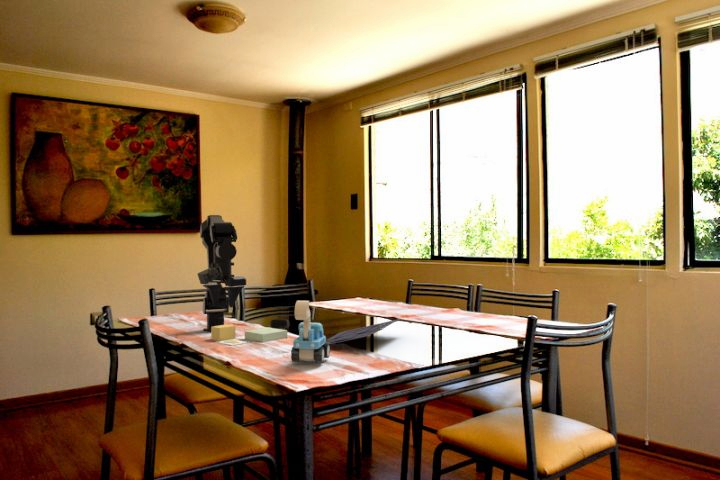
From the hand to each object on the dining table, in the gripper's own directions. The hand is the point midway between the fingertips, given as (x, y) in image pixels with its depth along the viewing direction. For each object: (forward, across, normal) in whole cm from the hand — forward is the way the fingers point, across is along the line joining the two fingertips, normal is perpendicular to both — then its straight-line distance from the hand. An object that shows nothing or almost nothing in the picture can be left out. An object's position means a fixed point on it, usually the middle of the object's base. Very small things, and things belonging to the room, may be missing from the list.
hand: (223, 306), depth 182 cm
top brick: (+11, 0, 0) cm, 11 cm away
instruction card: (+11, +8, -2) cm, 14 cm away
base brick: (+11, +10, +10) cm, 18 cm away
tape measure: (+11, +4, +24) cm, 27 cm away
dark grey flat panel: (+12, +37, +26) cm, 46 cm away
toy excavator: (+11, +48, -6) cm, 50 cm away
